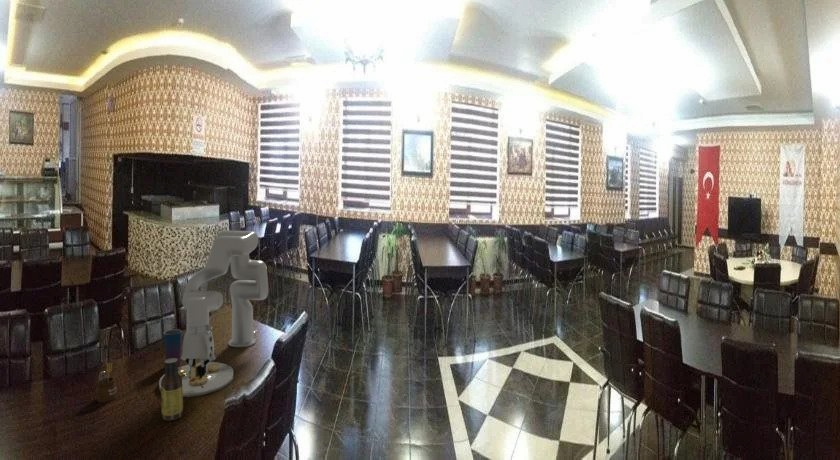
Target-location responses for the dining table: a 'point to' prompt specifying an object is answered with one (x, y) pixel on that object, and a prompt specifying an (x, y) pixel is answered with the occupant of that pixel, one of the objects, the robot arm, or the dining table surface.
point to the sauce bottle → (171, 391)
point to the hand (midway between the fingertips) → (198, 375)
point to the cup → (173, 344)
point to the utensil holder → (106, 387)
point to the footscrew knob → (197, 376)
